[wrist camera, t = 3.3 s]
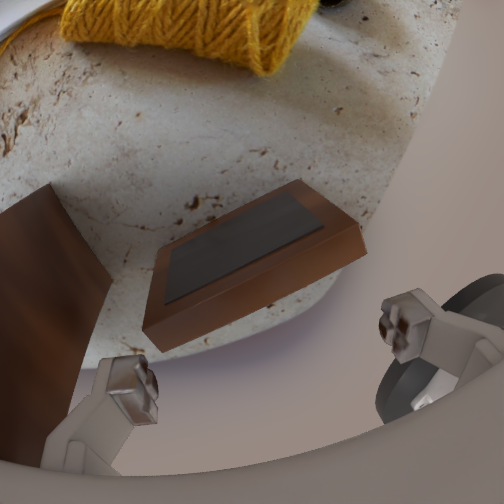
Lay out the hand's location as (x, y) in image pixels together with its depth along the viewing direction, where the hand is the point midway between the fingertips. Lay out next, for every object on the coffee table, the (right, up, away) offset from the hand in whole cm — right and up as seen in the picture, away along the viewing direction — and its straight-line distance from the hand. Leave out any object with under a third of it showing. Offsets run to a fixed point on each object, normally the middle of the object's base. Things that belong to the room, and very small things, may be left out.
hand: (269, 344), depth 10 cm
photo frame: (-2, +5, +10) cm, 11 cm away
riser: (-16, +2, +8) cm, 18 cm away
